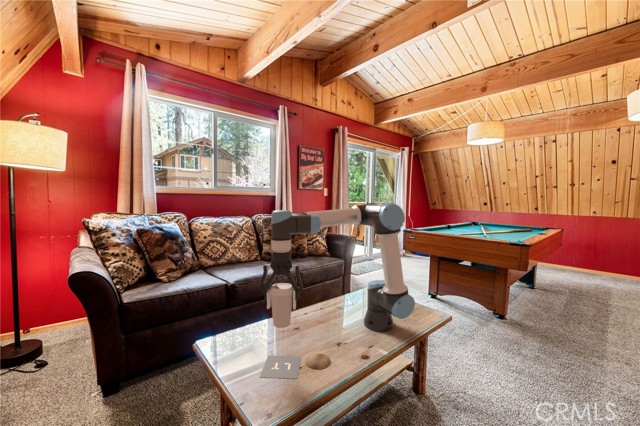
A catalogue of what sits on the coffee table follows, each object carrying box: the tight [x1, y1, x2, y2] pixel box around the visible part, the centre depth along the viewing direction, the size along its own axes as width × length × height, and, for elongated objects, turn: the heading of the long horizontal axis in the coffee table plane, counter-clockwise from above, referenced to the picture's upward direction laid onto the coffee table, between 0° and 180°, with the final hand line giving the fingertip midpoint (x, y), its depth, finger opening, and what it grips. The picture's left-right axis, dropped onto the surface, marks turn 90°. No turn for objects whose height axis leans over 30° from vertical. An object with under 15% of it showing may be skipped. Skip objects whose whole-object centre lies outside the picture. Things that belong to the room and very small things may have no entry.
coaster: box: [305, 353, 331, 370], centre depth 110 cm, size 10×10×1 cm
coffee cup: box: [269, 282, 294, 329], centre depth 106 cm, size 10×10×15 cm
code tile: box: [259, 354, 302, 380], centre depth 107 cm, size 14×14×1 cm
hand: (281, 307), depth 106 cm, fingers closed on coffee cup, 9 cm apart
